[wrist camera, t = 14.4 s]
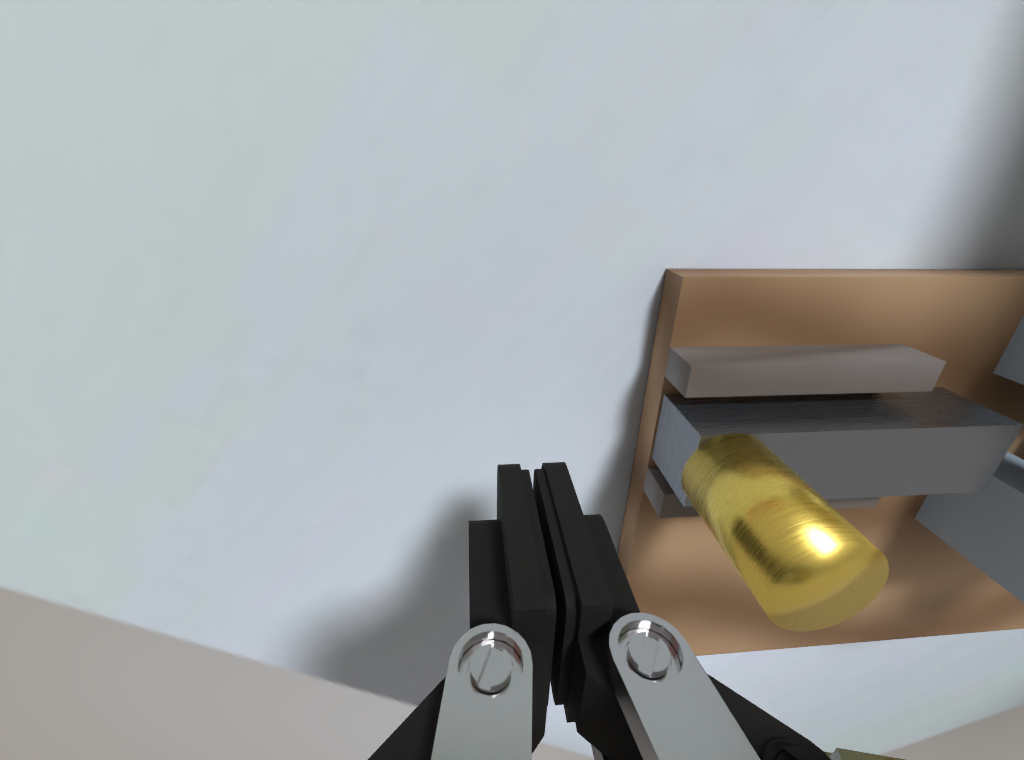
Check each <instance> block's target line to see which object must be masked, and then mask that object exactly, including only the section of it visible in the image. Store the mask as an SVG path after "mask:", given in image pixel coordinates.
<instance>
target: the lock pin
mask: <svg viewBox="0 0 1024 760" xmlns="http://www.w3.org/2000/svg"><path fill="white" fill-rule="evenodd" d="M1023 425H1024V424H1021V423H1019V422H1017V421H1015V420H1013V419H1010V418H1008V417H1006V416H1004V415H1002V414H1000V413H997V412H995V411H993V410H991V409H989V408H986V407H984V406H982V405H980V404H978V403H976V402H973V401H971V400H969V399H967V398H965V397H962V396H960V395H958V394H956V393H954V392H952V391H949V390H947V389H945V388H943V387H934V388H933V390H932V391H923V392H884V393H846V394H808V395H769V396H731V397H693V398H685V397H684V396H683V395H682V394H664V398H663V403H662V408H661V413H660V419H659V424H658V429H657V434H656V440H655V445H654V450H653V455H652V458H653V460H654V461H655V463H656V465H657V466H658V468H659V469H660V471H661V472H662V474H663V475H664V477H665V479H666V480H667V482H668V483H669V485H670V486H671V488H672V489H673V491H674V492H675V494H676V496H677V497H678V499H679V500H680V502H681V503H682V505H683V506H684V507H690V506H694V508H695V509H696V511H697V512H698V514H699V515H700V517H701V518H702V520H703V521H704V523H705V524H706V526H707V527H708V529H709V530H710V531H711V533H712V534H713V536H714V537H715V539H716V540H717V542H718V543H719V545H720V546H721V548H722V549H723V551H724V552H725V554H726V555H727V557H728V558H729V560H730V561H731V563H732V564H733V566H734V567H735V569H736V570H737V571H738V573H739V574H740V576H741V577H742V579H743V580H744V582H745V583H746V585H747V586H748V588H749V589H750V591H751V592H752V594H753V595H754V597H755V598H756V600H757V601H758V603H759V604H760V606H761V607H762V609H763V610H764V611H765V613H766V614H767V616H768V617H769V619H770V620H771V621H772V622H773V623H774V624H775V625H777V626H778V627H781V628H783V629H786V630H790V631H800V632H801V631H814V630H819V629H823V628H827V627H830V626H833V625H836V624H838V623H840V622H843V621H845V620H847V619H849V618H850V617H852V616H854V615H855V614H857V613H859V612H860V611H861V610H863V609H864V608H865V607H867V606H868V605H869V604H870V603H871V602H872V601H873V600H874V599H875V598H876V597H877V596H878V594H879V593H880V592H881V590H882V589H883V587H884V585H885V583H886V581H887V578H888V574H889V564H888V561H887V558H886V557H885V555H884V554H883V553H882V552H881V551H880V550H879V549H878V548H877V547H876V546H874V545H873V544H872V543H871V542H870V541H869V540H868V539H867V538H866V537H865V536H864V535H863V534H861V533H860V532H859V531H858V530H857V529H856V528H855V527H854V526H853V525H852V524H851V523H850V522H848V521H847V520H846V519H845V518H844V517H843V516H842V515H841V514H840V513H839V512H838V511H837V510H835V509H834V508H833V507H832V506H831V505H830V504H829V503H828V502H827V501H826V500H829V499H849V498H869V497H889V496H908V495H928V494H948V493H968V492H983V491H984V490H985V488H986V486H987V485H988V483H989V481H990V480H991V478H992V476H993V475H994V473H995V471H996V470H997V468H998V466H999V465H1000V463H1001V461H1002V460H1003V458H1004V456H1005V455H1006V453H1007V451H1008V450H1009V448H1010V447H1011V445H1012V443H1013V442H1014V440H1015V438H1016V437H1017V435H1018V433H1019V432H1020V430H1021V428H1022V427H1023Z"/></svg>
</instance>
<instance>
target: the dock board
mask: <svg viewBox="0 0 1024 760" xmlns="http://www.w3.org/2000/svg"><path fill="white" fill-rule="evenodd" d="M1023 316H1024V270H956V269H666V274H665V280H664V286H663V292H662V298H661V303H660V309H659V315H658V321H657V327H656V333H655V339H654V345H653V351H652V356H651V362H650V368H649V374H648V380H647V386H646V392H645V398H644V404H643V409H642V415H641V421H640V427H639V433H638V439H637V445H636V451H635V457H634V462H633V468H632V474H631V480H630V486H629V492H628V498H627V504H626V510H625V515H624V521H623V527H622V533H621V539H620V545H619V551H618V557H619V560H620V562H621V565H622V567H623V570H624V572H625V575H626V577H627V580H628V582H629V585H630V588H631V590H632V593H633V595H634V598H635V600H636V603H637V605H638V608H639V610H640V613H647V614H651V615H655V616H657V617H659V618H661V619H663V620H665V621H667V622H668V623H670V624H671V625H672V626H673V627H675V628H676V629H677V630H678V631H679V633H680V634H681V635H682V636H683V638H684V639H685V640H686V642H687V643H688V645H689V646H690V648H691V650H692V651H693V653H694V654H695V656H701V655H713V654H725V653H737V652H748V651H760V650H772V649H784V648H796V647H808V646H820V645H832V644H844V643H856V642H868V641H879V640H891V639H903V638H915V637H927V636H939V635H951V634H963V633H975V632H987V631H998V630H1010V629H1022V628H1024V603H1022V602H1021V601H1020V600H1019V599H1017V598H1016V597H1015V596H1013V595H1012V594H1011V593H1010V592H1008V591H1007V590H1006V589H1004V588H1003V587H1002V586H1001V585H999V584H998V583H997V582H995V581H994V580H993V579H992V578H990V577H989V576H988V575H986V574H985V573H984V572H983V571H981V570H980V569H979V568H977V567H976V566H975V565H974V564H972V563H971V562H970V561H969V560H967V559H966V558H965V557H963V556H962V555H961V554H960V553H958V552H957V551H956V550H954V549H953V548H952V547H951V546H949V545H948V544H947V543H945V542H944V541H943V540H942V539H940V538H939V537H938V536H936V535H935V534H934V533H933V532H931V531H930V530H929V529H927V528H926V527H925V526H924V525H922V524H921V523H920V522H918V521H917V520H916V519H915V517H916V515H917V513H918V512H919V510H920V508H921V506H922V504H923V502H924V500H925V498H926V497H927V495H908V496H889V497H869V498H849V499H829V500H826V501H827V502H828V503H829V504H830V505H831V506H832V507H833V508H834V509H835V510H837V511H838V512H839V513H840V514H841V515H842V516H843V517H844V518H845V519H846V520H847V521H848V522H850V523H851V524H852V525H853V526H854V527H855V528H856V529H857V530H858V531H859V532H860V533H861V534H863V535H864V536H865V537H866V538H867V539H868V540H869V541H870V542H871V543H872V544H873V545H874V546H876V547H877V548H878V549H879V550H880V551H881V552H882V553H883V554H884V555H885V557H886V558H887V561H888V564H889V574H888V578H887V581H886V583H885V585H884V587H883V589H882V590H881V592H880V593H879V594H878V596H877V597H876V598H875V599H874V600H873V601H872V602H871V603H870V604H869V605H868V606H867V607H865V608H864V609H863V610H861V611H860V612H859V613H857V614H855V615H854V616H852V617H850V618H849V619H847V620H845V621H843V622H840V623H838V624H836V625H833V626H830V627H827V628H823V629H819V630H814V631H801V632H800V631H790V630H786V629H783V628H781V627H778V626H777V625H775V624H774V623H773V622H772V621H771V620H770V619H769V617H768V616H767V614H766V613H765V611H764V610H763V609H762V607H761V606H760V604H759V603H758V601H757V600H756V598H755V597H754V595H753V594H752V592H751V591H750V589H749V588H748V586H747V585H746V583H745V582H744V580H743V579H742V577H741V576H740V574H739V573H738V571H737V570H736V569H735V567H734V566H733V564H732V563H731V561H730V560H729V558H728V557H727V555H726V554H725V552H724V551H723V549H722V548H721V546H720V545H719V543H718V542H717V540H716V539H715V537H714V536H713V534H712V533H711V531H710V530H709V529H708V527H707V526H706V524H705V523H704V521H703V520H702V518H701V517H700V515H699V514H698V512H697V511H696V509H695V508H694V506H690V507H684V506H683V505H682V503H681V502H680V500H679V499H678V497H677V496H676V494H675V492H674V491H673V489H672V488H671V486H670V485H669V483H668V482H667V480H666V479H665V477H664V475H663V474H662V472H661V471H660V469H659V468H658V466H657V465H656V463H655V461H654V460H653V458H652V455H653V450H654V445H655V440H656V434H657V429H658V424H659V419H660V413H661V408H662V403H663V398H664V394H682V395H683V396H684V397H685V398H693V397H731V396H769V395H808V394H846V393H884V392H923V391H932V390H933V388H934V387H943V388H945V389H947V390H949V391H952V392H954V393H956V394H958V395H960V396H962V397H965V398H967V399H969V400H971V401H973V402H976V403H978V404H980V405H982V406H984V407H986V408H989V409H991V410H993V411H995V412H997V413H1000V414H1002V415H1004V416H1006V417H1008V418H1010V419H1013V420H1015V421H1017V422H1019V423H1021V424H1024V385H1022V384H1020V383H1017V382H1015V381H1012V380H1010V379H1007V378H1004V377H1002V376H999V375H997V374H994V373H993V372H994V370H995V368H996V366H997V364H998V363H999V361H1000V359H1001V357H1002V355H1003V353H1004V351H1005V350H1006V348H1007V346H1008V344H1009V342H1010V340H1011V338H1012V337H1013V335H1014V333H1015V331H1016V329H1017V327H1018V325H1019V324H1020V322H1021V320H1022V318H1023ZM1007 452H1009V453H1011V454H1013V455H1015V456H1017V457H1019V458H1021V459H1023V460H1024V425H1023V427H1022V428H1021V430H1020V432H1019V433H1018V435H1017V437H1016V438H1015V440H1014V442H1013V443H1012V445H1011V447H1010V448H1009V450H1008V451H1007Z"/></svg>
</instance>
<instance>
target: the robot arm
mask: <svg viewBox="0 0 1024 760" xmlns="http://www.w3.org/2000/svg"><path fill="white" fill-rule="evenodd" d="M469 593H470V630H469V631H467V632H466V633H465V634H463V635H462V636H461V637H460V638H459V640H458V641H457V643H456V644H455V645H454V647H453V650H452V653H451V655H450V658H449V663H448V669H447V674H446V677H445V678H444V679H443V680H442V681H441V682H440V683H439V684H438V685H437V687H436V688H435V689H434V690H433V691H432V692H431V693H430V694H429V695H428V696H427V697H426V698H425V699H424V700H423V701H422V702H421V704H420V705H419V706H418V707H417V708H416V709H415V710H414V711H413V712H412V713H411V714H410V715H409V716H408V718H407V719H406V720H405V721H404V722H403V723H402V724H401V725H400V726H399V727H398V728H397V729H396V730H395V731H394V732H393V733H392V734H391V736H390V737H389V738H388V739H387V740H386V741H385V742H384V743H383V744H382V745H381V746H380V747H379V748H378V749H377V750H376V752H375V753H374V754H373V755H372V756H371V757H370V758H369V759H368V760H532V759H531V758H532V753H533V752H534V750H535V748H536V747H537V745H538V744H539V743H540V741H541V740H542V738H543V736H544V733H545V722H546V712H547V706H548V698H549V688H550V681H551V687H552V693H553V699H554V703H555V705H562V704H564V709H565V714H566V720H567V723H568V722H575V723H576V728H577V732H578V733H579V734H580V735H581V736H582V737H584V738H585V739H586V740H587V741H588V742H589V743H591V746H592V751H593V755H594V759H595V760H904V759H898V758H892V757H886V756H881V755H875V754H869V753H863V752H858V751H852V750H846V749H840V748H836V749H835V751H834V752H833V753H828V752H823V751H822V750H821V749H820V748H818V747H817V746H816V745H815V744H813V743H812V742H811V741H809V740H808V739H806V738H805V737H803V736H802V735H800V734H799V733H797V732H796V731H794V730H793V729H791V728H789V727H788V726H786V725H785V724H783V723H782V722H780V721H779V720H777V719H776V718H774V717H773V716H771V715H770V714H768V713H766V712H765V711H763V710H762V709H760V708H759V707H757V706H756V705H754V704H753V703H751V702H750V701H748V700H747V699H745V698H743V697H742V696H740V695H739V694H737V693H736V692H734V691H733V690H731V689H730V688H728V687H727V686H725V685H724V684H722V683H720V682H719V681H717V680H716V679H714V678H713V677H711V676H710V675H708V674H707V673H706V672H705V670H704V669H703V667H702V666H701V664H700V662H699V661H698V659H697V658H696V656H695V654H694V653H693V651H692V650H691V648H690V646H689V645H688V643H687V642H686V640H685V639H684V638H683V636H682V635H681V634H680V633H679V631H678V630H677V629H676V628H675V627H673V626H672V625H671V624H670V623H668V622H667V621H665V620H663V619H661V618H659V617H657V616H655V615H651V614H647V613H640V610H639V608H638V605H637V603H636V600H635V598H634V595H633V593H632V590H631V588H630V585H629V582H628V580H627V577H626V575H625V572H624V570H623V567H622V565H621V562H620V560H619V557H618V555H617V552H616V550H615V547H614V544H613V542H612V539H611V537H610V534H609V532H608V529H607V527H606V524H605V522H604V520H603V518H602V516H601V515H600V514H598V515H583V512H582V510H581V507H580V504H579V501H578V498H577V495H576V492H575V489H574V486H573V483H572V480H571V477H570V474H569V471H568V469H567V466H566V463H565V462H557V463H543V464H542V469H535V470H534V483H533V488H532V483H531V478H530V473H529V470H521V467H520V464H507V465H498V470H497V520H482V521H469Z"/></svg>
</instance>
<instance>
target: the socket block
mask: <svg viewBox="0 0 1024 760" xmlns="http://www.w3.org/2000/svg"><path fill="white" fill-rule="evenodd" d="M993 373H994V374H997V375H999V376H1002V377H1004V378H1007V379H1010V380H1012V381H1015V382H1017V383H1020V384H1022V385H1024V316H1023V318H1022V320H1021V322H1020V324H1019V325H1018V327H1017V329H1016V331H1015V333H1014V335H1013V337H1012V338H1011V340H1010V342H1009V344H1008V346H1007V348H1006V350H1005V351H1004V353H1003V355H1002V357H1001V359H1000V361H999V363H998V364H997V366H996V368H995V370H994V372H993ZM915 519H916V520H917V521H918V522H920V523H921V524H922V525H924V526H925V527H926V528H927V529H929V530H930V531H931V532H933V533H934V534H935V535H936V536H938V537H939V538H940V539H942V540H943V541H944V542H945V543H947V544H948V545H949V546H951V547H952V548H953V549H954V550H956V551H957V552H958V553H960V554H961V555H962V556H963V557H965V558H966V559H967V560H969V561H970V562H971V563H972V564H974V565H975V566H976V567H977V568H979V569H980V570H981V571H983V572H984V573H985V574H986V575H988V576H989V577H990V578H992V579H993V580H994V581H995V582H997V583H998V584H999V585H1001V586H1002V587H1003V588H1004V589H1006V590H1007V591H1008V592H1010V593H1011V594H1012V595H1013V596H1015V597H1016V598H1017V599H1019V600H1020V601H1021V602H1022V603H1024V460H1023V459H1021V458H1019V457H1017V456H1015V455H1013V454H1011V453H1009V452H1007V453H1006V455H1005V456H1004V458H1003V460H1002V461H1001V463H1000V465H999V466H998V468H997V470H996V471H995V473H994V475H993V476H992V478H991V480H990V481H989V483H988V485H987V486H986V488H985V490H984V491H983V492H968V493H948V494H928V495H927V497H926V498H925V500H924V502H923V504H922V506H921V508H920V510H919V512H918V513H917V515H916V517H915Z"/></svg>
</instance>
